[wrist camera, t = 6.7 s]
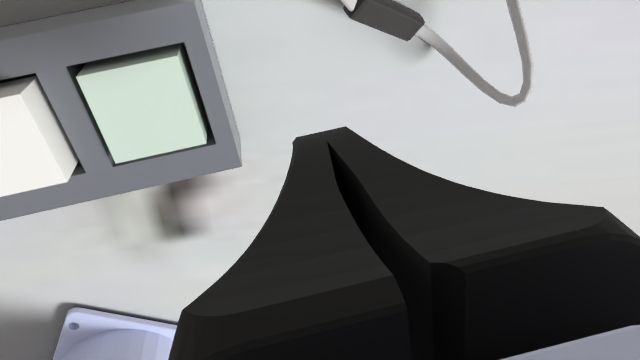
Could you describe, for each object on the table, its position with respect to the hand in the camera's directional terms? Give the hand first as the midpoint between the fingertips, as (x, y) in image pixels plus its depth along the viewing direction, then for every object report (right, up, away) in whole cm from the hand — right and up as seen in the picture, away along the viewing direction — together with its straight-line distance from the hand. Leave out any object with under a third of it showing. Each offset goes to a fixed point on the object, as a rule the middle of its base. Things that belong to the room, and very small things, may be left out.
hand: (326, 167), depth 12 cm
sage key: (-7, +3, +7) cm, 10 cm away
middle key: (-11, +2, +6) cm, 13 cm away
